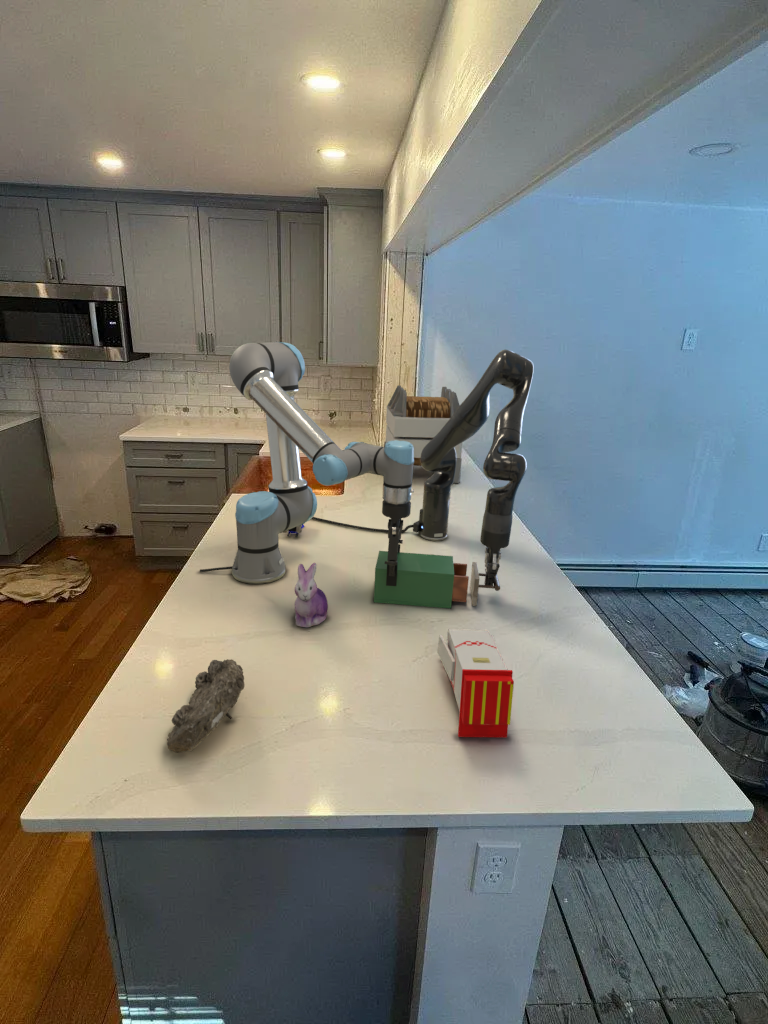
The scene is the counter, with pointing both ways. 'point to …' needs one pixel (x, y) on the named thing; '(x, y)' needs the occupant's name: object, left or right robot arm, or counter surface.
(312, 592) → the figurine
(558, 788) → the counter surface
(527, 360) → the right robot arm
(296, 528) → the figurine character
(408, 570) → the cabinet
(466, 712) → the toy
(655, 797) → the counter surface
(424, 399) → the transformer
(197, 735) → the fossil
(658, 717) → the counter surface
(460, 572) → the drawer
